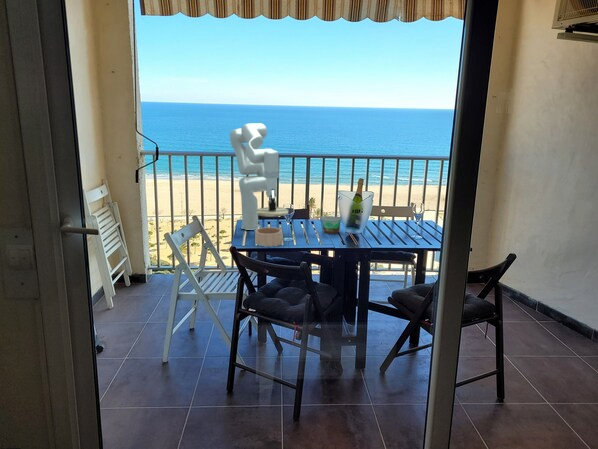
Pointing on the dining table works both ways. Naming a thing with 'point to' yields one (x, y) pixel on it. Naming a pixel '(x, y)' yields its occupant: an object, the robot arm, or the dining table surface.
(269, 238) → the bowl
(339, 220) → the food container
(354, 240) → the dining table surface
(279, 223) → the dining table surface
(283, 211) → the lid
